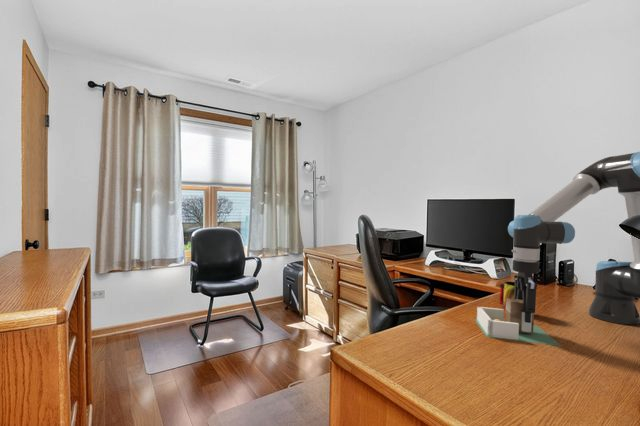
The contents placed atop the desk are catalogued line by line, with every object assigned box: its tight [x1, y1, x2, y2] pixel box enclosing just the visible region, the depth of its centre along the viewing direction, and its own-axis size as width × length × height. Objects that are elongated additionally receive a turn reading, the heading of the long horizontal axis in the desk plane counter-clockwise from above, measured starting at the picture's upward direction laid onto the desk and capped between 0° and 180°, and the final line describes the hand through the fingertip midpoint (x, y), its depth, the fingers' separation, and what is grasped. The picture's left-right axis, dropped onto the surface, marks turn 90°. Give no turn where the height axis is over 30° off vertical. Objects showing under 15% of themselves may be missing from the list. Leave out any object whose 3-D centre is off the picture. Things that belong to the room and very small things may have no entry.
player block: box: [505, 298, 535, 334], centre depth 108 cm, size 7×5×10 cm, turn 76°
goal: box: [476, 306, 519, 341], centre depth 110 cm, size 9×16×5 cm, turn 165°
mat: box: [474, 318, 562, 347], centre depth 109 cm, size 21×18×1 cm
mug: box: [498, 281, 515, 313], centre depth 132 cm, size 10×14×12 cm
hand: (523, 328), depth 108 cm, fingers closed on player block, 5 cm apart
